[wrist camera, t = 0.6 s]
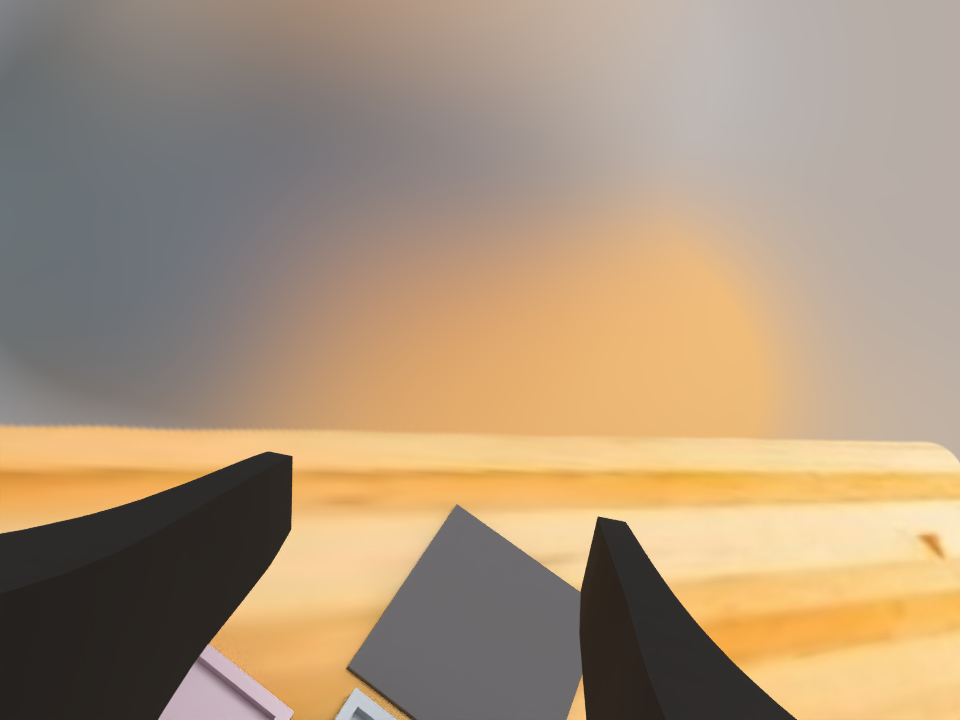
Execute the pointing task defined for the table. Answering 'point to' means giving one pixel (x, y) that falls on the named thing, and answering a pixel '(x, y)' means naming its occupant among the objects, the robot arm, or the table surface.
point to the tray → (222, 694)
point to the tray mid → (362, 709)
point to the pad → (476, 633)
